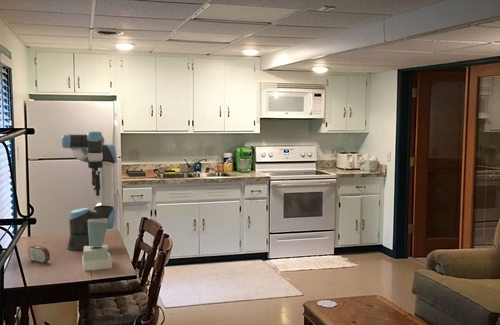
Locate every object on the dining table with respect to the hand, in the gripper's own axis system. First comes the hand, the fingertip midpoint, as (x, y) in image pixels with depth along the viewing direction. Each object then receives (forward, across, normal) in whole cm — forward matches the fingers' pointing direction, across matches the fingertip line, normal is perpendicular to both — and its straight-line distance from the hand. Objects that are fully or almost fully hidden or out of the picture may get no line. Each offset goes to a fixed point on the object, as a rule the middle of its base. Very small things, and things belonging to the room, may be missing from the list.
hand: (96, 199), depth 280 cm
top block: (+28, +14, -2) cm, 31 cm away
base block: (+33, +14, -2) cm, 36 cm away
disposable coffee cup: (+23, +13, -2) cm, 27 cm away
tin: (+34, -6, -30) cm, 46 cm away
